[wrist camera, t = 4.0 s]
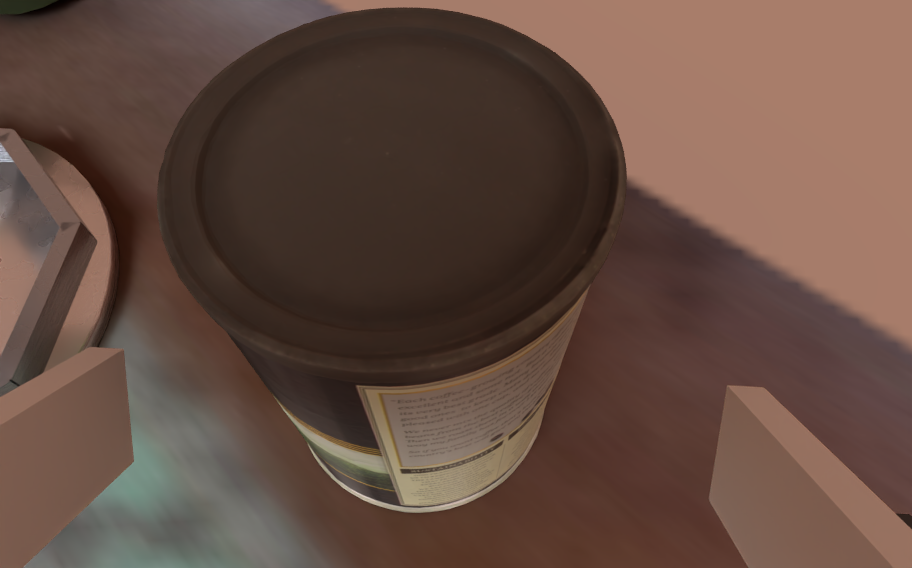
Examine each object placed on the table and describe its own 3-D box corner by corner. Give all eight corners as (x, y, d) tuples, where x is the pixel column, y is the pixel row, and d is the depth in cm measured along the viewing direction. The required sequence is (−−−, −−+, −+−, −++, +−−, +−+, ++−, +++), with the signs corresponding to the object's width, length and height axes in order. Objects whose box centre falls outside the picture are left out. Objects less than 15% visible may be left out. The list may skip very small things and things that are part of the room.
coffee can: (268, 499, 24) (71, 337, 12) (328, 268, 29) (235, -10, 17) (542, 533, 23) (634, 399, 11) (553, 291, 28) (624, 18, 16)
